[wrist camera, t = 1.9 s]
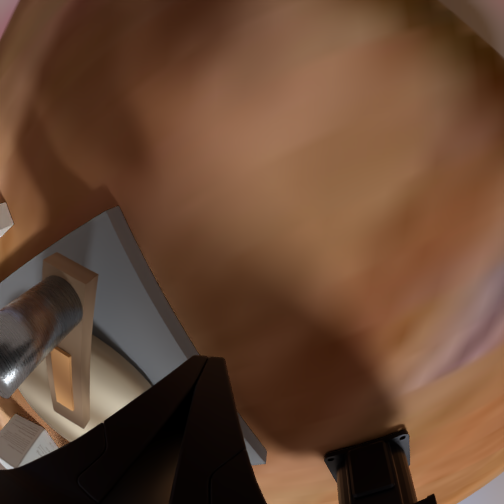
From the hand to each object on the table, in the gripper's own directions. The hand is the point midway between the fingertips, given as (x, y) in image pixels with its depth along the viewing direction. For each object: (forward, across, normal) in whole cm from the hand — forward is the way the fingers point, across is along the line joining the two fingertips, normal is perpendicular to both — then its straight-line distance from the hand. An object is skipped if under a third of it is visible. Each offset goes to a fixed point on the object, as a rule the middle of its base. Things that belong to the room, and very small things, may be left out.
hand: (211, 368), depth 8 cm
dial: (+5, +10, +7) cm, 13 cm away
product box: (+7, +26, +24) cm, 36 cm away
